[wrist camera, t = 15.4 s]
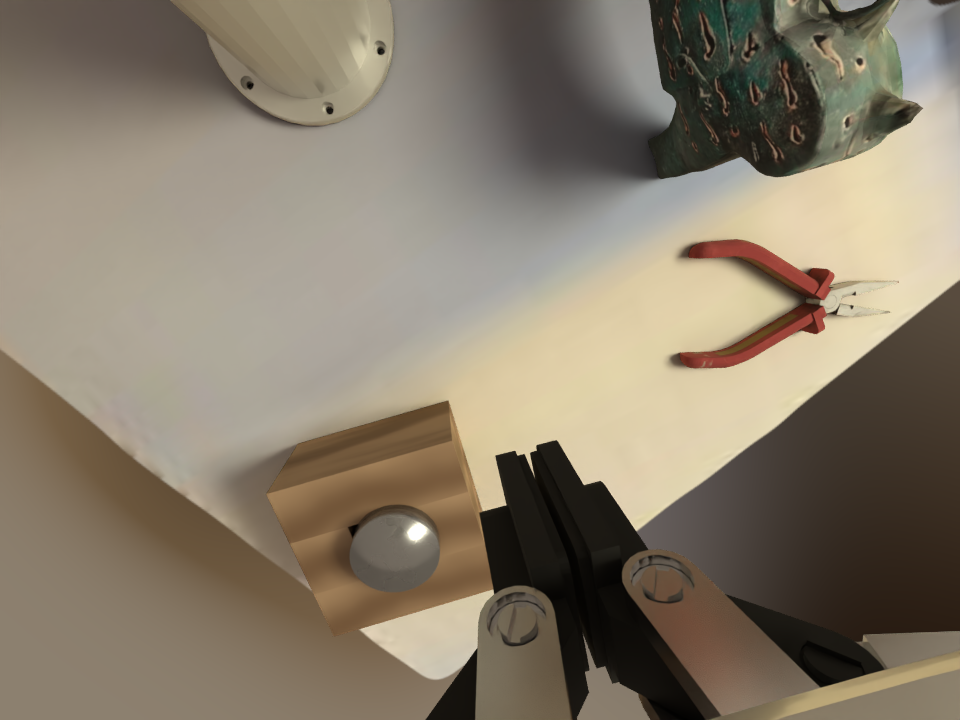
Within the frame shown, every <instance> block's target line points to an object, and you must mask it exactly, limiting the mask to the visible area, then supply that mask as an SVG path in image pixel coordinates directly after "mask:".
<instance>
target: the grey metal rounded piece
mask: <svg viewBox="0 0 960 720" xmlns="http://www.w3.org/2000/svg"><path fill="white" fill-rule="evenodd" d="M439 558H440V538H439V532H438V529H437V526H436V524H435V523H434V521H433V520H432V519H431V518H430V517H429V516H428V515H427V514H426V513H424V512H423V511H421V510H419V509H417V508H415V507H412V506H408V505H401V504H395V505H387V506H383V507H380V508H378V509H376V510H374V511H372V512H370V513H369V514H367V515H366V516H365V517H364V518H363V519H362V520H361V521H360V523H359V524H358V526H357V528H356V530H355V533H354V537H353V540H352V544H351V548H350V564H351V567H352V569H353V571H354V573H355V575H356V576H357V577H358V578H359V579H360V580H361V581H362V582H363V583H364V584H366V585H367V586H369V587H371V588H373V589H376V590H379V591H384V592H403V591H407V590H410V589H413V588H416V587H418V586H420V585H421V584H423V583H424V582H425V581H427V580H428V579H429V578H430V577H431V576H432V574H433V573H434V572H435V570H436V568H437V566H438V563H439Z"/></svg>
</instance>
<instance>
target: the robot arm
mask: <svg viewBox="0 0 960 720" xmlns="http://www.w3.org/2000/svg"><path fill="white" fill-rule="evenodd" d="M170 1H171V2H172V3H173V4H174V5H175V6H177V7H178V8H179V9H180V10H181V11H182V12H183V13H185V14H186V15H187V16H188V17H189V18H190V19H191V20H193V21H194V22H195V23H196V24H197V25H198V26H199V27H201V28H202V29H203V30H204V31H205V33H206V36H207V39H208V43H209V45H210V48H211V50H212V52H213V54H214V56H215V58H216V60H217V62H218V64H219V66H220V67H221V68H222V70H223V71H224V73H225V74H226V76H227V77H228V79H229V80H230V81H231V82H232V84H233V85H234V86H235V87H236V88H237V89H238V90H239V91H240V92H241V93H242V94H243V95H244V96H245V97H246V98H248V99H249V100H250V101H251V102H253V103H254V104H255V105H257V106H258V107H260V108H261V109H263V110H264V111H266V112H268V113H269V114H271V115H273V116H275V117H277V118H280V119H282V120H285V121H287V122H291V123H296V124H301V125H306V126H322V125H327V124H332V123H337V122H340V121H342V120H344V119H346V118H349V117H351V116H353V115H354V114H356V113H357V112H358V111H360V110H361V109H362V108H364V107H365V106H366V105H367V104H368V103H369V102H370V101H371V100H372V98H373V97H374V96H375V95H376V94H377V92H378V91H379V89H380V87H381V85H382V84H383V82H384V80H385V78H386V75H387V73H388V70H389V67H390V64H391V60H392V53H393V47H394V22H393V16H392V10H391V5H390V1H389V0H170ZM380 49H383V50H384V51H385V52H384V54H383V55H379V54H378V50H380ZM251 83H253V84H254V86H253V88H252V89H251V90H250V89H249V84H251ZM328 108H332V109H333V113H332V114H328V113H327V110H328ZM536 447H537V451H534V452H530V455H531V461H532V466H533V471H534V475H533V473H532V471H531V468H530V466H529V464H528V461H527V459H526V456H525V454H523V455H519V456H517V454H516V451H512V452H508V453H504V454H500V455H496V461H497V466H498V470H499V474H500V478H501V483H502V487H503V491H504V496H505V500H506V504H507V505H506V506H502V507H499V508H495V509H491V510H487V511H483V512H479V514H480V520H481V525H482V531H483V536H484V542H485V547H486V552H487V558H488V563H489V568H490V574H491V579H492V584H493V590H494V595H493V596H492V597H491V598H490V599H489V600H488V601H487V602H486V603H485V605H484V607H483V609H482V610H481V612H480V617H479V622H478V648H477V649H476V651H475V652H474V653H473V655H472V656H471V657H470V659H469V660H468V662H467V663H466V664H465V666H464V667H463V669H462V670H461V671H460V673H459V674H458V675H457V677H456V678H455V680H454V681H453V682H452V684H451V685H450V687H449V688H448V689H447V691H446V692H445V693H444V695H443V696H442V698H441V699H440V700H439V702H438V703H437V705H436V706H435V707H434V709H433V710H432V712H431V713H430V714H429V716H428V717H427V719H426V720H577V716H578V714H579V712H580V710H581V708H582V706H583V704H584V701H585V699H586V697H587V695H588V693H589V691H588V686H587V681H586V676H585V671H589V665H588V659H587V654H586V648H585V643H584V638H583V635H584V637H585V640H586V642H587V645H588V648H589V650H590V653H591V656H592V658H593V660H594V663H595V665H596V667H597V668H600V667H604V666H606V669H607V671H608V674H609V676H610V679H611V681H612V683H617V682H620V684H622V685H624V686H626V687H627V688H629V689H631V690H633V691H635V692H637V693H638V696H639V699H640V701H641V704H642V706H643V708H644V710H645V712H646V713H647V715H648V717H649V718H650V720H960V631H956V632H955V631H954V632H927V633H901V634H874V635H864V636H863V642H855V641H853V640H852V639H850V638H848V637H845V636H843V635H841V634H839V633H836V632H834V631H831V630H828V629H826V628H823V627H820V626H817V625H814V624H811V623H808V622H805V621H802V620H799V619H796V618H793V617H791V616H787V615H785V614H782V613H779V612H776V611H773V610H770V609H767V608H764V607H761V606H758V605H756V604H753V603H749V602H747V601H744V600H741V599H738V598H735V597H732V596H729V595H726V594H724V593H723V592H722V591H721V590H720V589H719V588H718V587H717V586H716V585H715V584H714V583H713V582H712V581H710V579H709V578H708V577H707V576H706V575H704V573H703V572H702V571H701V570H700V569H698V568H697V567H696V566H695V565H694V564H693V563H692V562H690V561H689V560H688V559H687V558H685V557H684V556H681V555H679V554H677V553H674V552H671V551H666V550H661V549H656V550H648V548H647V547H646V545H645V544H644V543H643V541H642V540H641V538H640V536H639V535H638V534H637V532H636V531H635V529H634V528H633V526H632V525H631V523H630V522H629V520H628V519H627V517H626V516H625V514H624V513H623V511H622V510H621V508H620V507H619V505H618V504H617V502H616V501H615V499H614V498H613V496H612V495H611V493H610V492H609V491H608V489H607V488H606V486H605V485H604V484H603V482H601V481H598V482H595V483H591V484H587V485H583V483H582V481H581V480H580V478H579V476H578V475H577V473H576V471H575V470H574V468H573V466H572V465H571V463H570V461H569V460H568V458H567V456H566V454H565V453H564V451H563V449H562V448H561V446H560V444H559V443H558V441H557V440H555V441H551V442H547V443H543V444H539V445H537V446H536ZM534 476H535V478H534Z"/></svg>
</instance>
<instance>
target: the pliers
mask: <svg viewBox="0 0 960 720" xmlns="http://www.w3.org/2000/svg"><path fill="white" fill-rule="evenodd" d="M729 256H735V257H738V258H741V259H743V260H745V261H747V262H749V263H751V264H752V265H754V266H756V267H757V268H759V269H760V270H762V271H764V272H765V273H767V274H769V275H770V276H772V277H773V278H775V279H777V280H778V281H780V282H781V283H783V284H785V285H786V286H788V287H790V288H791V289H793V290H794V291H796V292H798V293H799V294H801V295H803V296H804V297H806V298H807V299H806V303H804V304H802V305H801V306H799V307H797V308H795V309H794V310H792V311H790V312H789V313H787V314H785V315H784V316H782V317H780V318H779V319H777V320H775V321H773V322H772V323H770V324H768V325H767V326H765V327H763V328H762V329H760V330H758V331H757V332H755V333H753V334H752V335H750V336H748V337H747V338H745V339H743V340H742V341H740V342H738V343H736V344H734V345H732V346H730V347H728V348H725V349H722V350H718V351H712V352H685V353H680V360H681V361H682V363H683V364H684V365H686V366H688V367H690V368H726V367H730V366H734V365H737V364H740V363H742V362H744V361H747V360H749V359H751V358H753V357H755V356H756V355H758V354H760V353H761V352H763V351H765V350H766V349H768V348H770V347H771V346H773V345H775V344H777V343H778V342H780V341H782V340H783V339H785V338H787V337H788V336H790V335H792V334H793V333H795V332H797V331H799V330H800V329H802V331H805V332H809V333H813V334H818V333H819V332H821V331H823V330H824V329H825V325H824V322H823V318H824V317H826V316H827V315H826V313H832V314H837V315H844V316H851V317H856V316H865V315H874V314H883V313H890V312H889V311H883V310H877V309H870V308H864V307H858V306H852V305H846V304H840V302H841V299H842V297H846V296H850V295H860V294H864V293H867V292H871V291H874V290H877V289H880V288H884V287H887V286H890V285H893V284H896V283H899V281H852V282H845V283H839V284H834V285H830V284H831V282H832V281H833V279H834V273H832V272H831V271H829V270H828V269H820V268H812V270H811V271H810V273H809V274H808V275H806V274H805V273H803V272H802V271H800V270H798V269H797V268H795V267H794V266H792V265H791V264H789V263H787V262H786V261H784V260H783V259H781V258H779V257H778V256H776V255H775V254H773V253H771V252H770V251H768V250H767V249H765V248H763V247H761V246H759V245H756V244H754V243H751V242H748V241H745V240H738V239H734V240H723V241H711V242H702V243H699V244H697V245H695V246H694V247H692V248H691V250H690V252H689V258H716V257H729ZM829 285H830V286H829Z"/></svg>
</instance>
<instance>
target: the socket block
mask: <svg viewBox="0 0 960 720" xmlns="http://www.w3.org/2000/svg"><path fill="white" fill-rule="evenodd" d="M266 495H267V497H268V499H269V501H270V503H271V505H272V507H273V510H274V512H275V514H276V516H277V518H278V520H279V522H280V524H281V526H282V528H283V531H284V533H285V535H286V537H287V539H288V541H289V543H290V545H291V547H292V549H293V552H294V554H295V556H296V558H297V560H298V562H299V564H300V566H301V568H302V570H303V573H304V575H305V577H306V579H307V581H308V583H309V585H310V587H311V589H312V591H313V594H314V596H315V598H316V600H317V602H318V604H319V606H320V608H321V610H322V612H323V614H324V617H325V619H326V621H327V623H328V625H329V627H330V629H331V631H332V633H333V635H334V636H338V635H341V634H344V633H348V632H351V631H355V630H358V629H361V628H365V627H368V626H371V625H375V624H378V623H382V622H385V621H388V620H392V619H395V618H398V617H402V616H405V615H408V614H412V613H415V612H418V611H422V610H425V609H429V608H432V607H435V606H439V605H442V604H445V603H449V602H452V601H455V600H459V599H462V598H466V597H469V596H472V595H476V594H479V593H482V592H486V591H489V590H492V589H493V584H492V579H491V574H490V568H489V563H488V558H487V552H486V547H485V542H484V536H483V531H482V525H481V520H480V514H479V512H482V508H481V505H480V502H479V499H478V495H477V492H476V489H475V486H474V482H473V479H472V476H471V473H470V469H469V466H468V463H467V460H466V456H465V453H464V450H463V447H462V443H461V440H460V437H459V434H458V430H457V427H456V424H455V421H454V417H453V414H452V411H451V408H450V404H449V401H446V402H442V403H439V404H435V405H432V406H428V407H425V408H421V409H418V410H414V411H411V412H407V413H404V414H400V415H397V416H393V417H390V418H386V419H383V420H379V421H376V422H372V423H369V424H365V425H362V426H358V427H355V428H351V429H348V430H344V431H341V432H337V433H334V434H330V435H327V436H323V437H320V438H316V439H313V440H309V441H306V442H302V443H299V444H298V445H297V446H296V448H295V449H294V451H293V453H292V454H291V456H290V457H289V459H288V461H287V462H286V464H285V465H284V467H283V468H282V470H281V472H280V473H279V475H278V476H277V478H276V480H275V481H274V483H273V484H272V486H271V487H270V489H269V491H268V492H267V494H266ZM395 504H401V505H408V506H412V507H415V508H417V509H419V510H421V511H423V512H424V513H426V514H427V515H428V516H429V517H430V518H431V519H432V520H433V521H434V523H435V524H436V526H437V529H438V532H439V538H440V558H439V563H438V566H437V568H436V570H435V572H434V573H433V574H432V576H431V577H430V578H429V579H428V580H427V581H425V582H424V583H423V584H421V585H420V586H418V587H416V588H413V589H410V590H407V591H403V592H384V591H379V590H376V589H373V588H371V587H369V586H367V585H366V584H364V583H363V582H362V581H361V580H360V579H359V578H358V577H357V576H356V575H355V573H354V571H353V569H352V567H351V564H350V548H351V544H352V540H353V537H354V533H355V530H356V528H357V526H358V524H359V523H360V521H361V520H362V519H363V518H364V517H365V516H366V515H367V514H369V513H370V512H372V511H374V510H376V509H378V508H380V507H383V506H387V505H395Z"/></svg>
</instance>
